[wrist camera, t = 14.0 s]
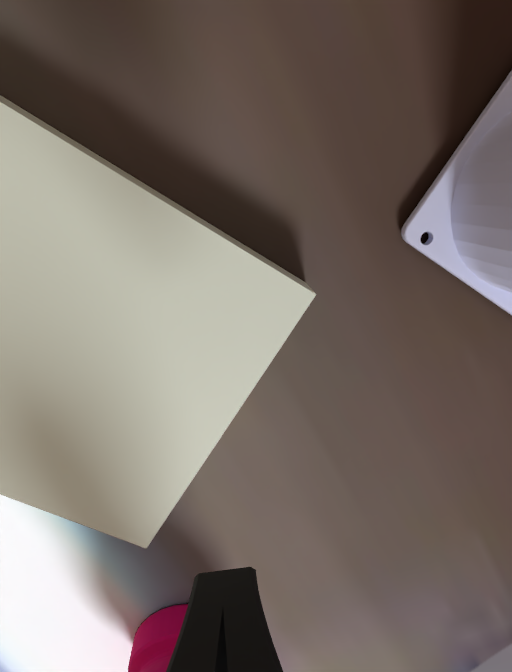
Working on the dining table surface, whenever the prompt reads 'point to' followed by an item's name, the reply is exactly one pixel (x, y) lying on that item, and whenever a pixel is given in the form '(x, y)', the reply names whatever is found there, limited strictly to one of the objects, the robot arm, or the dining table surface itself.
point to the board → (119, 334)
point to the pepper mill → (157, 640)
